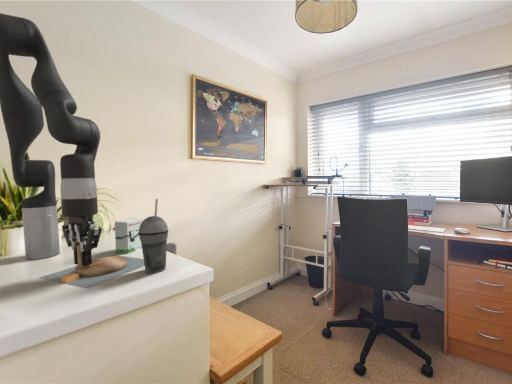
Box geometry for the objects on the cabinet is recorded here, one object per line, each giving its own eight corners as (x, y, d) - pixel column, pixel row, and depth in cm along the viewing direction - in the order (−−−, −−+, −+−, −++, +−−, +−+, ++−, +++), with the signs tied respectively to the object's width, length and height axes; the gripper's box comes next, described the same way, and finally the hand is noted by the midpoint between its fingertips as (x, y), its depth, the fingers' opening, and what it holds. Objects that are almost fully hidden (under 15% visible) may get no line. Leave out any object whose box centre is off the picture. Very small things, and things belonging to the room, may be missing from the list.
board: (39, 283, 64) (38, 273, 64) (112, 259, 82) (112, 251, 82) (88, 295, 56) (88, 283, 56) (157, 265, 75) (157, 257, 74)
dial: (113, 259, 78) (111, 234, 77) (136, 265, 71) (134, 238, 71) (67, 271, 67) (65, 243, 67) (89, 280, 61) (87, 249, 61)
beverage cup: (146, 271, 70) (142, 198, 69) (173, 269, 71) (169, 197, 70) (136, 281, 63) (131, 200, 62) (166, 279, 64) (162, 199, 63)
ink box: (128, 258, 83) (126, 221, 83) (115, 257, 84) (113, 222, 84) (145, 250, 92) (143, 217, 91) (133, 250, 93) (131, 217, 92)
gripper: (47, 197, 64) (51, 265, 65) (79, 198, 58) (83, 273, 59) (79, 195, 71) (83, 257, 72) (111, 195, 65) (114, 263, 65)
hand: (83, 264), depth 65 cm, fingers closed on dial, 2 cm apart
